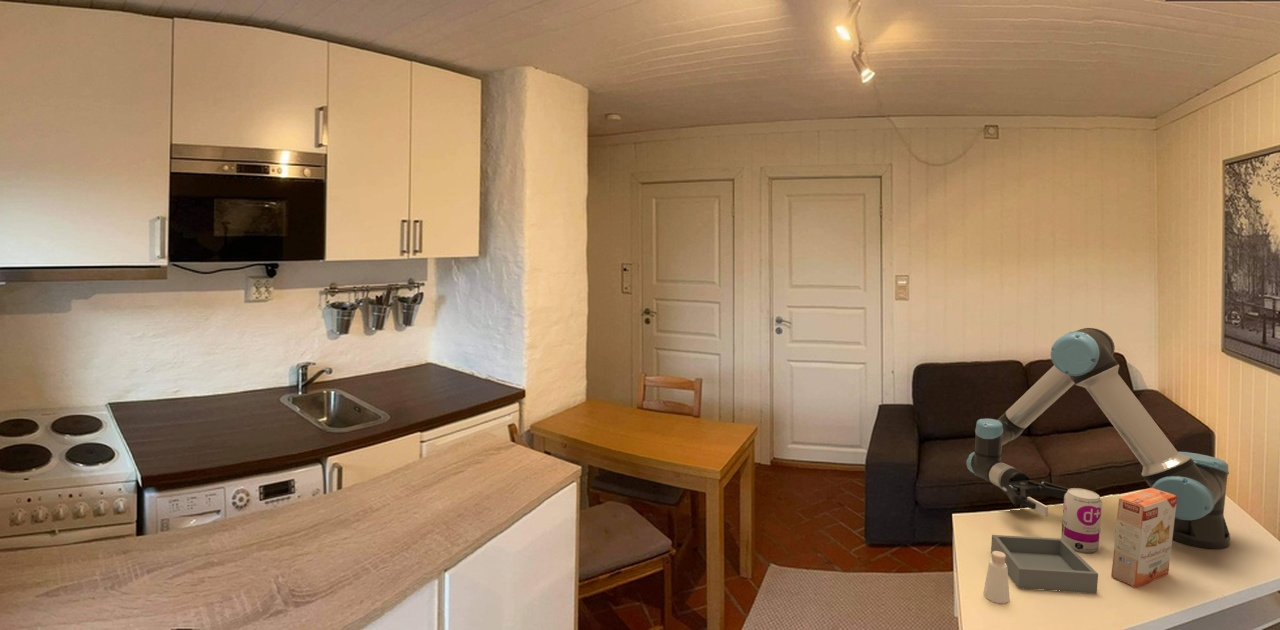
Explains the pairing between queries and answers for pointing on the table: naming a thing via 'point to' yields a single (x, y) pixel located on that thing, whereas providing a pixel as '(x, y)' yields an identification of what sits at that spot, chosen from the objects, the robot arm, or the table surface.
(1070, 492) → the supplement can
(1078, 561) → the grey square tray
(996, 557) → the pepper shaker
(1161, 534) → the cracker box
